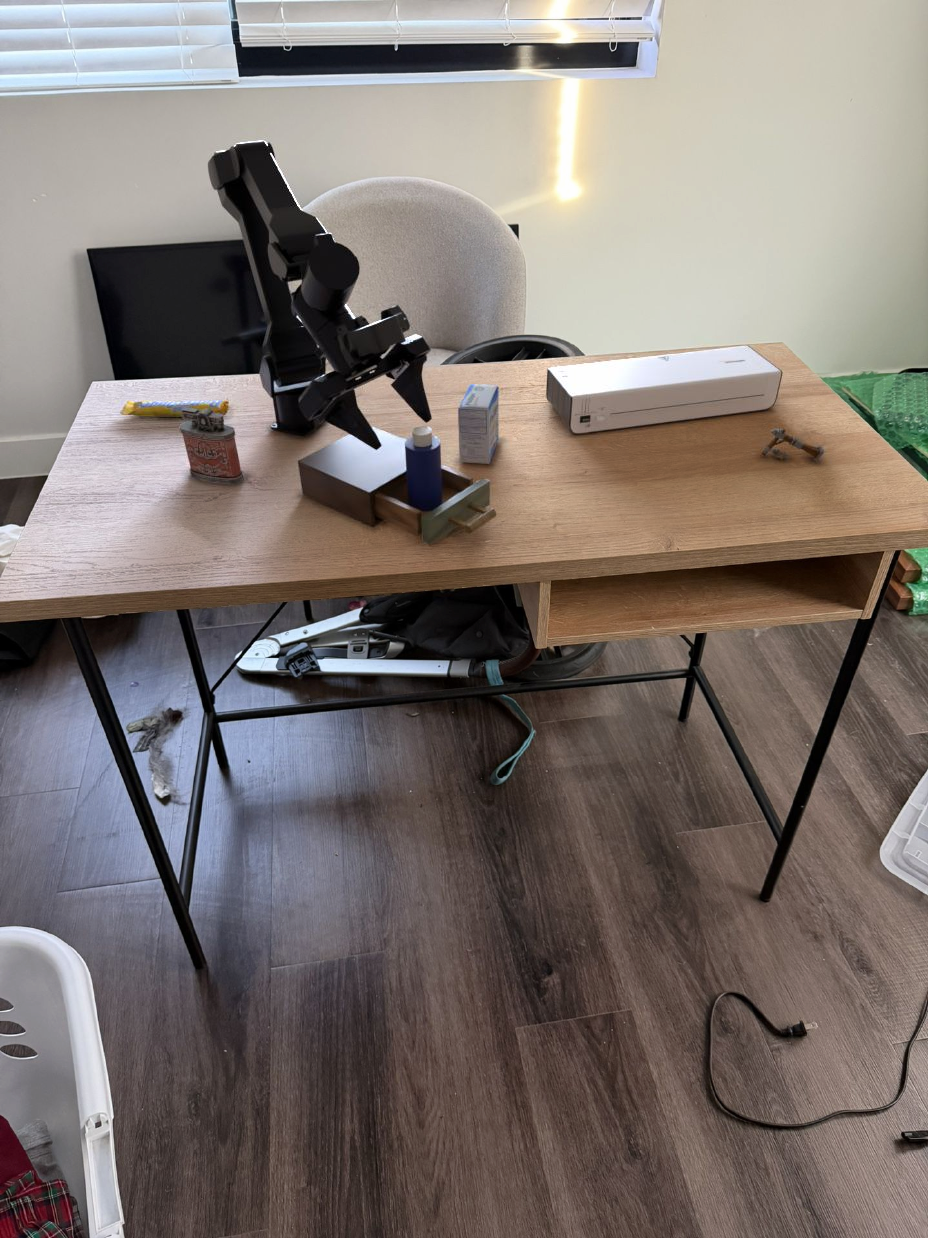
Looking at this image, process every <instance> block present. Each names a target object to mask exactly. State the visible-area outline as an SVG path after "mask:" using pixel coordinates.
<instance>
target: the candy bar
mask: <svg viewBox="0 0 928 1238" xmlns="http://www.w3.org/2000/svg"><path fill="white" fill-rule="evenodd" d="M229 403H230V400H229V398H228V397H226V399H224V400H192V401H191V400H190V401H160V400H159V401H157V400H156V401H148V400H145V401H144V400H143V401H136V402H134V401H131V400H127V402H126V403H125V404H124V406H123V408H122V409H121V410H120V411H119V413H120V414H121V415H123V416H135V417H150V418H151V417H154V418H182V415H181V410H182V409H183V408H185V407H186V408H193V409H198V410H200V411H203V410H204V409H206V408H209V409H211V410H212V411H213V412H214V413H220V414H223V417H224V416H226V415H227V413H228V411H229V410H230V408H229Z"/></svg>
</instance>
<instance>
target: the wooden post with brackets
mask: <svg viewBox="0 0 928 1238" xmlns="http://www.w3.org/2000/svg"><path fill="white" fill-rule="evenodd" d="M771 434H772V435H773V438H772V439H771V441H770V442H769V443H768V444H767V445H765V447H764V450H762V452H761V455H762V457H766V456H767V455H768V454H770V453H771V454H772V455H774V457H775V458H776V459H777V458H779V459H780V460H781V461H783V460H787V458H788V454H787V453H786V451H782V450H780V448H779V447H778V448H777V449H774V447H775V446H778V445H780V444H783V443H787V444H788V445H789V446H791V447H793V448H795V449H797V450H798V451H799V450H801V451H803V452H805V453H807V454H808V455H810V456H811V457H812V459H813V461H814V462H816V463H817V462H818V461H819V460H820V459H821V457H822V456H823V455H824V453H825V450H824V447H823V446H822V445H818V446H813V445H810V444H807V443H804V442H803V441H802V440H800V439H798V438H797V437H795V436H790V435H789V434H787V433H786V429H785V428H780V429H779V428H778V427H776V428H773V429H772V430H771Z"/></svg>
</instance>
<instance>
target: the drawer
mask: <svg viewBox="0 0 928 1238" xmlns="http://www.w3.org/2000/svg"><path fill="white" fill-rule="evenodd" d="M441 475H442V505H440V506H439V507H437V508H436V509H434V510H432V511H427V512H422V511H420V510H418V509H416V508H414V507H411V506H409V504H408V488H407V475H406V476H404V477H402V478H400V479H399V480H397V481H395V482H394V483H392V484H390V485H389V486H387V487H385V488H383V489H382V490H380V491H378V492H377V493H375V494H373V502H374V513H375V516H376V517H378V518H381V519H383V520H384V521H385V522H387V523H390V524H392V525H394V526H396V527H399V528H400V529H401V530H404V531H407V532H408V533H411V534H413V535H415V536H418V537H419V536H421V535H422V536H421V539H422V541H421V542H422V543H423V544H425V545H428V546H431V545H433V544H434V543H436V542H437V541H439V540H440V539H442V538H443V537H444V536H447V534H449V533H451V532H452V531H453V530H455V529H456V528H458V527H459V528H461V529H463V530H464V532H465V533H466V534H468V535H471V534H473V533H474V532H476V531H478V530H479V529H481V528H482V527H483V526H485V525H486V524H487V523H489V522H490V521H491V520H493V519H494V518H496V517H497V511H496V510H495V509H494V508H489V509H488V507H489V506H490V505H491V481H490V480H489V479H487V478H484V477H483V478H481V479H479V480H477V481H476V482H475V483H474V477H473V476H470V475H469V474H465V473H463V472H460V471H458V470H456V469H453V468H450V467H448V466H445V465H443V464H441ZM478 514H480V515H479V516H477V517H476V518H474V519H473V520H472V521H470V522H467V521H468V520H470V519H471V518H473V517H474V516H475V515H478Z"/></svg>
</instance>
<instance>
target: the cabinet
mask: <svg viewBox="0 0 928 1238" xmlns="http://www.w3.org/2000/svg"><path fill="white" fill-rule="evenodd" d="M370 426H371V427H372V429H373V430H374V432H375V433H376V435H377V437H378V439H379V441H380V443H381V445H382V446H381V447H380V448H379V449H378V450H375V449H373V448H372V447H370V446H368V445H367V444H365V443H364V442H362V441H360V440H359V439H357V438H355V437H354V436H352V435H350V434H349V433H348V434H347V435H345V436H343V437H341V438H339V439H337V440H335V441H334V442H333V441H332V442H331V443H329V444H327V445H326V446H324V447H322V448H320V449H317V450H316V451H314V452H312V453H310V454H308V455H306V456H304V457H303V458H300V459H298V460H297V466H298V473H299V480H300V485H301V493H302V496H304V497H305V498H306V497H307V498H309V499H310V500H313V501H315V502H316V503H319V504H321V505H324V506H325V507H327V508H330V509H332V510H334V511H336V512H338V513H340V514H343V515H345V516H347V517H349V518H351V519H353V520H355V521H358V522H360V523H362V524H364V525H366V526H368V527H370V528H371V529H373V528H375V527H376V526H378V525H380V524H382V523H383V522H384V521H385V520H383V519H381V518H378V517H376V516H375V513H374V502H373V494H375V493H377V492H378V491H380V490H382V489H383V488H385V487H387V486H389V485H390V484H392V483H394V482H395V481H397V480H399V479H400V478H402V477H404V476H406V475H407V473H406V457H405V441H406V440H407V439H406V438H402V437H400V436H397V435H396V434H395V435H394V434H392V433H390V432H388V431H387V432H386V431H384V430H382V429H380V428H377V427H374V426H372V425H370Z"/></svg>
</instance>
